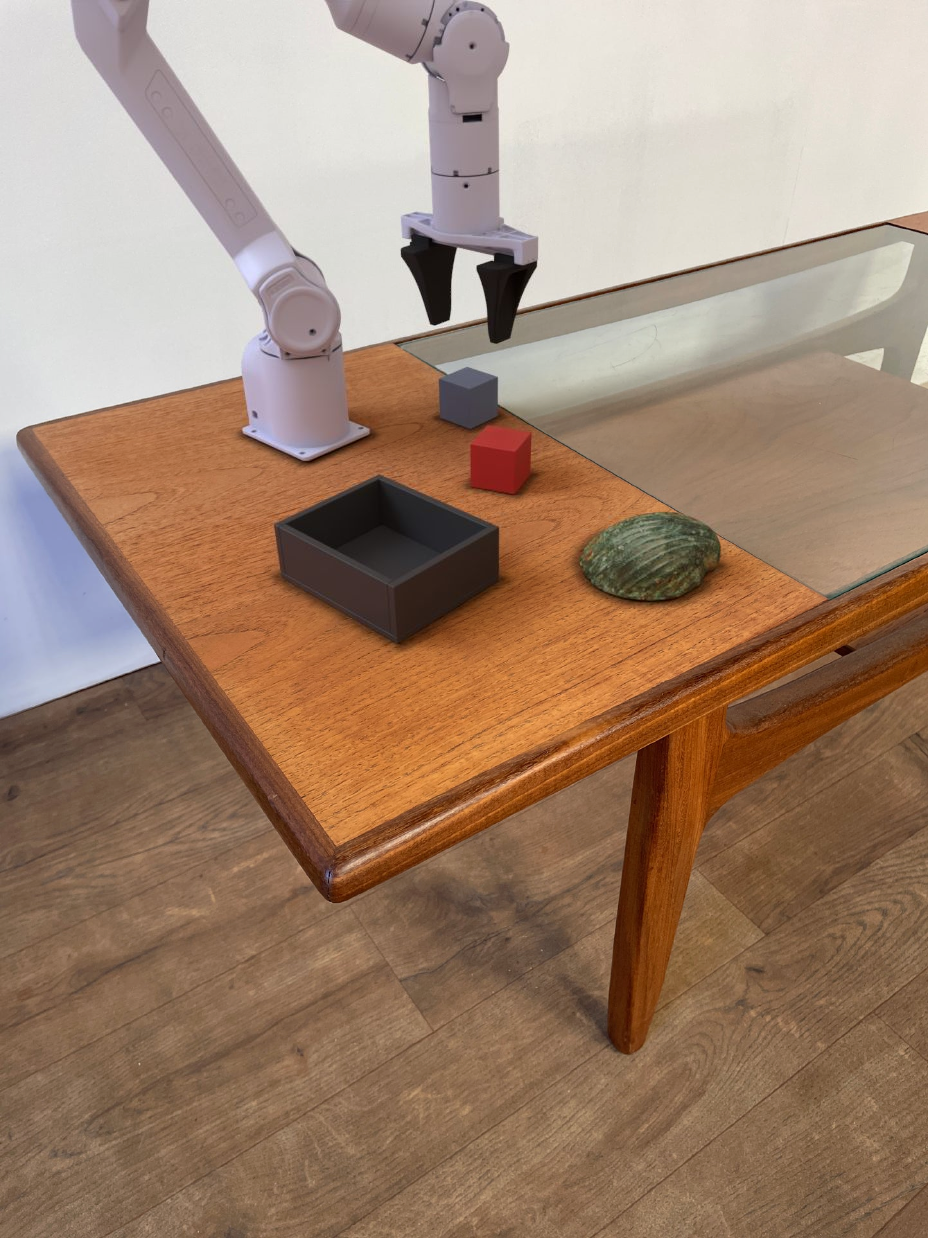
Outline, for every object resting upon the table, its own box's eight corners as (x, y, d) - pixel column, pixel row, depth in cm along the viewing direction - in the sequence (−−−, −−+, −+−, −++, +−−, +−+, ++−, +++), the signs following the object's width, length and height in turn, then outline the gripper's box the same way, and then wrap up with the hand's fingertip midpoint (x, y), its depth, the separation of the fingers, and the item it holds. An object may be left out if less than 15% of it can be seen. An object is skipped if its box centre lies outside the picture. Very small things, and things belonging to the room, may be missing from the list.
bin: (281, 577, 70) (273, 523, 68) (382, 524, 76) (379, 473, 74) (397, 644, 63) (393, 587, 61) (499, 580, 69) (499, 526, 67)
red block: (470, 486, 81) (469, 443, 79) (487, 466, 84) (487, 424, 82) (514, 495, 80) (515, 451, 78) (530, 474, 83) (532, 431, 81)
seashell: (590, 478, 73) (726, 490, 71) (587, 523, 76) (717, 535, 74) (576, 555, 65) (726, 571, 64) (572, 602, 68) (717, 618, 66)
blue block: (439, 417, 93) (438, 378, 91) (467, 405, 95) (466, 366, 93) (470, 429, 91) (469, 388, 88) (497, 416, 93) (498, 376, 91)
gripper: (563, 171, 78) (558, 336, 86) (437, 152, 86) (443, 304, 94) (505, 187, 74) (506, 358, 82) (379, 166, 82) (391, 323, 90)
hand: (469, 331), depth 88 cm, fingers open, 7 cm apart
